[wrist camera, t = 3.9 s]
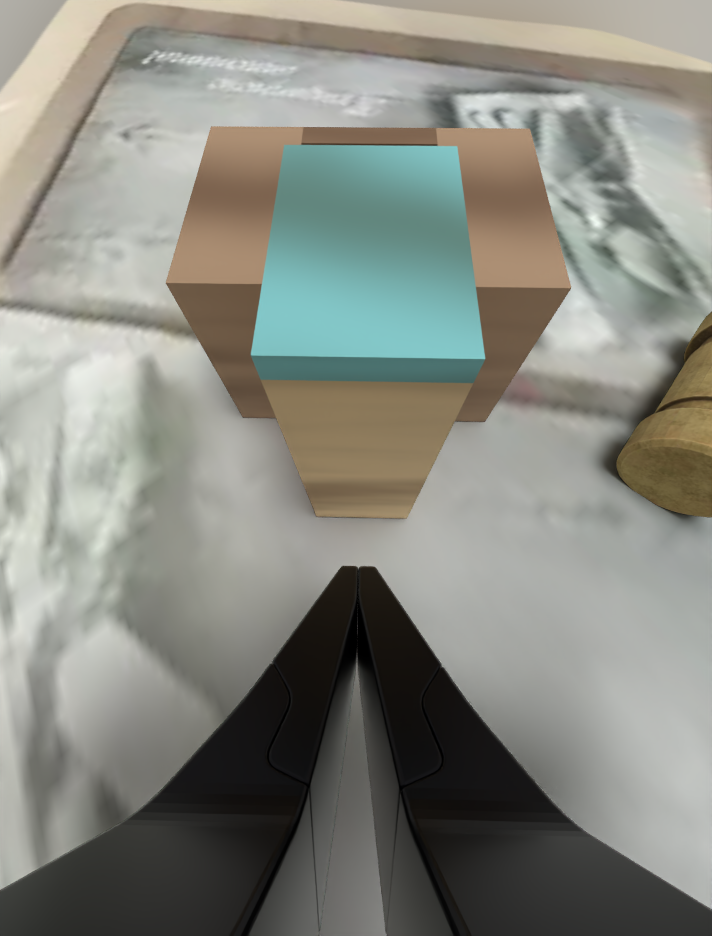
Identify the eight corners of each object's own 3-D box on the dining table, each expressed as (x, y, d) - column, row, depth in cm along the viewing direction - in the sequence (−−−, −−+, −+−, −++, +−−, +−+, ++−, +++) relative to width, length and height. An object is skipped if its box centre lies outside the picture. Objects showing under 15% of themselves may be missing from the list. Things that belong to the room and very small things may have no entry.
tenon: (406, 518, 16) (485, 359, 6) (316, 516, 16) (250, 355, 6) (403, 401, 19) (457, 146, 9) (324, 400, 19) (284, 144, 9)
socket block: (485, 421, 18) (571, 288, 11) (243, 417, 18) (165, 282, 11) (470, 298, 21) (529, 128, 14) (261, 296, 21) (211, 126, 14)
